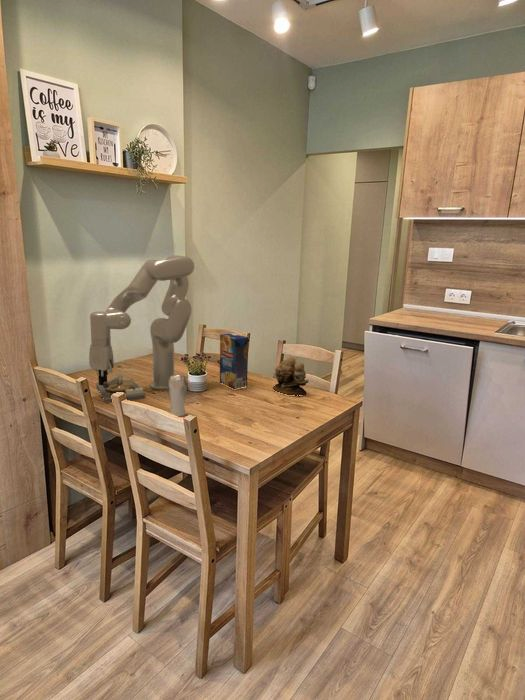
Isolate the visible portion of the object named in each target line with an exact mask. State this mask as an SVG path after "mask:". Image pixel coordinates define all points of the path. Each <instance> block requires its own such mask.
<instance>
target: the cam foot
mask: <svg viewBox="0 0 525 700" xmlns="http://www.w3.org/2000/svg"><path fill="white" fill-rule="evenodd" d="M103 387H104V388H105V390H106V391H108V392H114V393H116V392H125V390H127V389H133V388H134V383H133V382H132V381H130V380H129V379H124V376H123V374H116V375H115V376H114V377H112V378H110V379H107V381H106V382H104V384H103Z"/></svg>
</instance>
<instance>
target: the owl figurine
mask: <svg viewBox="0 0 525 700" xmlns="http://www.w3.org/2000/svg"><path fill="white" fill-rule="evenodd" d="M274 370H275V372H274V374H275V378H276V380H277V382H278V383H276V384H275V385H273V386H272V390H273V389H274V390H275V391H277V392H280V393H283V394H287V395H295V396H297V395H298V396H299V395H303V396H305V395H304V394H306V395H307V391H306V390H305V388H303V387H304V386H306V384H308V383H309V382H310V381H309V379H306V378H307V374H306V372H305V365H304V363H303V362H301V361H297V362H296V359H295V357H294V356H289V357H287V358H285V359H284V360H282V361H281V362H280V363H279V364H278V365H277V366H276V367H275V369H274ZM275 391H274V392H275ZM299 397H300V396H299Z"/></svg>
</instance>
